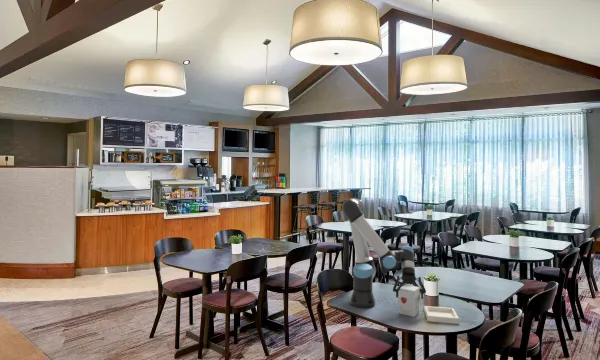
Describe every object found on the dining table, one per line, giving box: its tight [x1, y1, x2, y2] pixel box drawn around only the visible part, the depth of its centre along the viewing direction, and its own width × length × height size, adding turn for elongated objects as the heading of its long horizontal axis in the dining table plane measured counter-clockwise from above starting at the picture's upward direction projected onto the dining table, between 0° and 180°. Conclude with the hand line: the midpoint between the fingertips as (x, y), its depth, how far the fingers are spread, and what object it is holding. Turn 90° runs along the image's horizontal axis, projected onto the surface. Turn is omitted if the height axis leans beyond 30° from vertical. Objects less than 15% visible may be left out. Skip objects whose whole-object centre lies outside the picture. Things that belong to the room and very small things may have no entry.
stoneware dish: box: [423, 305, 460, 325], centre depth 220 cm, size 16×16×3 cm
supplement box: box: [398, 284, 421, 318], centre depth 226 cm, size 9×9×15 cm
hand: (409, 303), depth 224 cm, fingers closed on supplement box, 11 cm apart
